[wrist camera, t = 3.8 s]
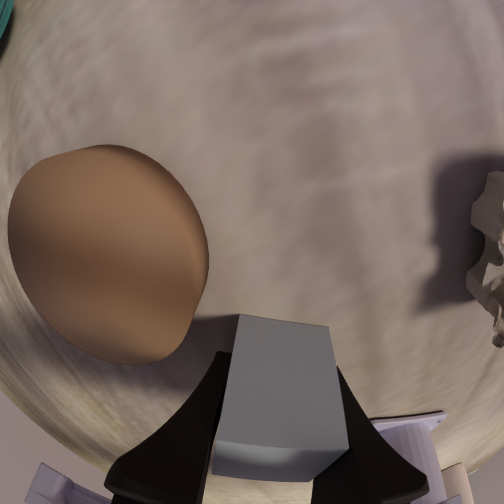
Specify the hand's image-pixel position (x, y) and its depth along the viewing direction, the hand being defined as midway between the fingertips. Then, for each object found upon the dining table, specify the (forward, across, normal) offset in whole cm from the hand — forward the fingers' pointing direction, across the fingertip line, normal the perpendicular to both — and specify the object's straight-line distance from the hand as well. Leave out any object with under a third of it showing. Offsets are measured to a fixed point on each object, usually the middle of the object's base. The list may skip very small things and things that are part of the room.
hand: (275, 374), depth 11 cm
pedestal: (+1, +8, -4) cm, 9 cm away
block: (+1, 0, 0) cm, 1 cm away
